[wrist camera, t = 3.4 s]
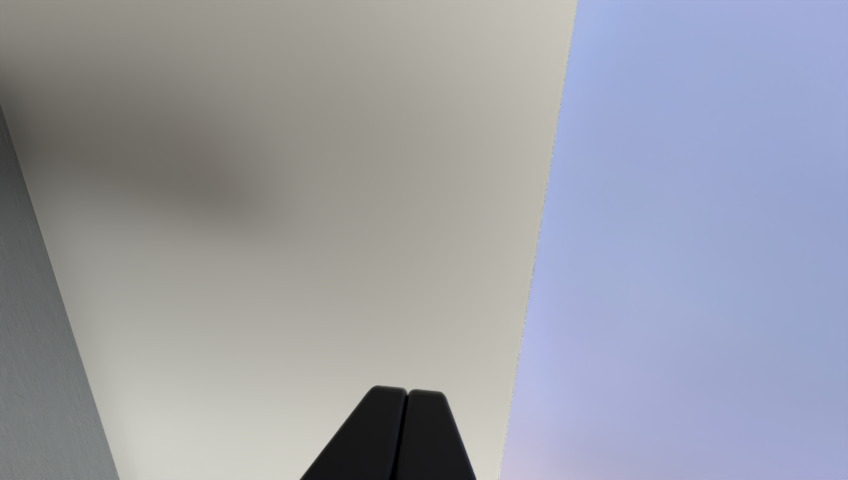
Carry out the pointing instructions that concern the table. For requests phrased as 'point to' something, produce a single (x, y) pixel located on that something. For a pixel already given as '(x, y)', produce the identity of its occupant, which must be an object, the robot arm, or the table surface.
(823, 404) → the table surface
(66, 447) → the bar
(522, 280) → the board
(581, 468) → the table surface
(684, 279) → the table surface
